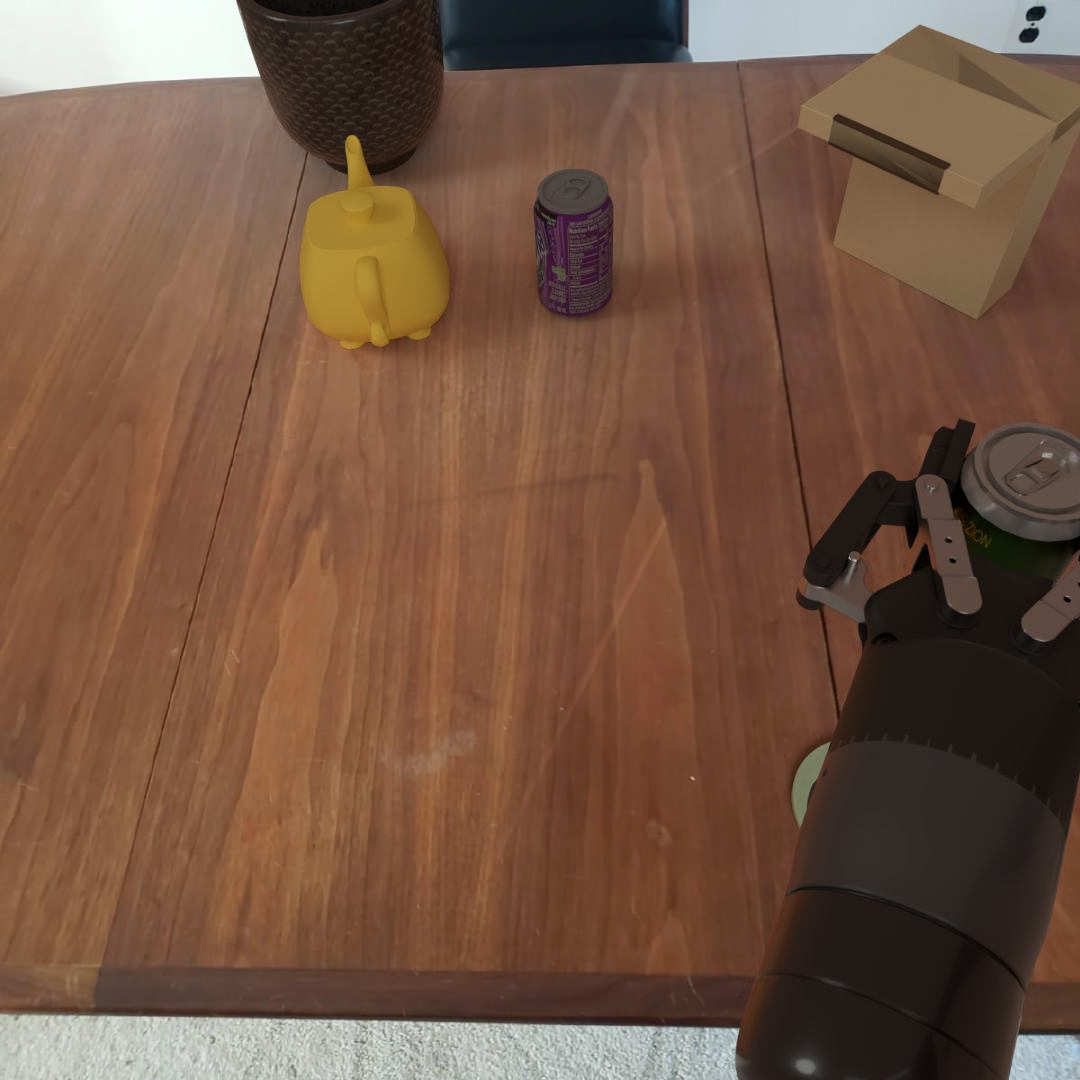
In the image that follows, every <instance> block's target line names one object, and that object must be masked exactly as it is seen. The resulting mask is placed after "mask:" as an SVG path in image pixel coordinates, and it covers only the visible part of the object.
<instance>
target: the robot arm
mask: <svg viewBox="0 0 1080 1080" xmlns="http://www.w3.org/2000/svg"><path fill="white" fill-rule="evenodd" d="M976 427H977V422H973V421H970V420H966V419H963V418H958V419H957V422H956V424H955V426H954V428H950V427H947V426H944V425H942V426H941V427H940V428H938V429H937V430H936V431H935V432H933V433H934V434H933V436H932V439H931V441H930V442H929V446H928V448H927V450H926V453H925V455H924V458H923V460H922V463H921V467H920V468H919V472H918V474H917V476H916V477H914V478H912V479H909V480H898V479H897V478H896V477H895V476H894V475H893V474H892V473H890V472H888V471H885V470H873V471H872V472H870V473H869V474H868V475H866V477H865V479H864V480H863V481H862V482H861V484H860V485H859V487H858V488H857V489H856V491H855V492H853V494H852V496H851V497H850V498H849V500H848V501H847V502H846V504H845V505H844V506H843V508H842V509H841V511H839V513H838V514H837V516H836V517H835V518H834V520H833V521H832V522H831V524H830V525H829V527H828V528H827V529H826V530H825V532H824V533H823V534H822V536H821V537H820V538H819V540H818V541H817V542H816V544H814V546H813V548H812V549H811V551H810V552H809V553H808V555H807V556H806V559H805V562H804V565H803V568H802V572H801V575H800V578H799V582H798V585H797V590H796V592H795V600H796V602H797V605H799V606H800V607H802V608H803V609H805V610H807V611H814V612H815V611H819V610H822V609H823V608H825V606H827V607H828V608H829V609H832V610H833V611H835V612H837V613H839V614H841V615H843V617H846V618H848V619H850V620H852V621H854V622H855V623H857V632H858V636H859V640H860V645H861V656H860V659H859V661H858V664H857V667H856V670H855V672H854V675H853V678H852V680H851V684H850V686H849V690H848V692H847V695H846V697H845V701H844V703H843V706H842V710H841V711H840V715H839V717H838V720H837V723H836V726H835V729H834V731H833V735H832V736H831V740H830V742H831V743H830V745H829V748H828V752H827V754H826V756H825V759H824V762H823V765H822V768H821V770H820V773H819V776H818V778H817V779H816V781H815V782H814V783H813V784H812V787H811V789H810V792H809V796H808V800H807V810H806V812H805V815H804V818H803V821H802V824H801V828H800V829H799V831H798V834H797V839H796V845H795V849H794V854H793V861H792V866H791V870H790V874H789V875H790V876H789V880H788V883H787V886H786V890H785V893H784V898H783V899H782V903H781V905H780V908H779V911H778V914H777V917H776V920H775V923H774V925H773V928H772V931H771V934H770V937H769V940H768V942H767V944H766V949H765V951H764V954H763V956H762V959H761V962H760V965H759V968H758V971H757V974H756V977H755V980H754V982H753V985H752V988H751V991H750V993H749V996H748V1000H747V1003H746V1006H745V1010H744V1013H743V1016H742V1019H741V1023H740V1025H739V1030H738V1034H737V1039H736V1043H735V1044H736V1045H735V1049H734V1050H735V1051H734V1066H735V1072H736V1077H737V1080H1010V1077H1011V1076H1010V1075H1011V1072H1012V1066H1013V1060H1014V1055H1015V1051H1016V1046H1017V1045H1016V1044H1017V1041H1018V1036H1019V1032H1020V1027H1021V1021H1022V1016H1023V1012H1024V1006H1025V998H1026V996H1027V992H1028V989H1029V985H1030V982H1031V981H1030V980H1031V978H1032V974H1033V972H1034V970H1035V967H1036V964H1037V961H1038V959H1039V956H1040V954H1041V952H1042V949H1043V945H1044V944H1045V940H1046V937H1047V935H1048V932H1049V928H1050V925H1051V921H1052V916H1053V912H1054V907H1055V902H1056V898H1057V892H1058V888H1059V883H1060V878H1061V873H1062V868H1063V863H1064V858H1065V853H1066V848H1067V842H1068V837H1069V832H1070V827H1071V822H1072V816H1073V811H1074V807H1075V801H1076V795H1077V792H1078V786H1079V781H1080V553H1079V554H1078V559H1077V563H1076V565H1074V566H1073V568H1072V569H1070V570H1069V571H1068V572H1067V573H1066V574H1065V575H1064V576H1062V577H1061V578H1060V579H1059V581H1058V582H1057V584H1056V585H1055V586H1054V587H1053V588H1052V585H1053V581H1052V580H1049V579H1046V578H1043V577H1040V576H1037V575H1034V574H1031V573H1024V572H1016V571H1010V570H1007V569H1005V568H1003V567H1001V566H999V565H998V564H996V563H994V562H992V561H991V560H989V559H987V558H984V557H981V556H978V555H975V554H972V553H969V552H968V550H967V545H966V541H965V537H964V532H963V528H962V523H961V521H960V520H959V519H955V518H954V513H953V509H952V504H951V500H950V495H951V493H952V491H953V489H954V487H955V485H956V483H957V480H958V477H959V474H960V471H961V468H962V465H963V462H964V459H965V457H966V455H967V454H968V450H969V447H970V444H971V441H972V438H973V436H974V432H975V429H976ZM882 526H893V527H900V529H901V534H902V539H903V545H904V551H905V560H904V577H902V578H899V579H897V580H895V581H893V582H891V583H889V584H887V585H886V586H884V587H882V588H879V589H877V590H876V591H874V592H873V591H872V590H870V589H869V588H868V586H867V585H866V581H865V577H866V575H867V572H868V567H867V564H866V562H865V561H864V560H863V559H862V554H864V551H866V549H867V547H868V546H869V545H870V544H871V542H872V540H873V539H874V538H875V536H876V535H877V533H878V532H879V531H880V529H881V528H882Z"/></svg>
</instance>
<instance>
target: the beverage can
mask: <svg viewBox="0 0 1080 1080" xmlns="http://www.w3.org/2000/svg"><path fill="white" fill-rule="evenodd" d="M532 212H533V226H534V227H533V229H534V240H535V241H534V242H535V257H536V259H535V260H536V261H535V262H536V277H537V292H538V293H537V294H538V299H539V301H540V303H541V304H542V305H543V306H544V308H546V309H547V310H548V311H550V312H551V313H554V314H557V315H558V316H563V317H570V318H571V317H574V318H575V317H576V318H577V317H584V316H590V315H592V314H595V313H597V312H598V311H601V310H602V309H603V308H605V307H606V306H607V305H608V304H609V301H611V298H612V296H613V277H614V276H613V275H614V274H613V272H614V271H613V269H614V268H613V267H614V202H613V200H612V197H611V196H610V194H609V184H608V182H607V180H606V179H605V178H604V177H602V176H601V175H600V174H599V173H596V172H595V171H592V170H588V169H584V168H565V169H561V170H557V171H554V172H552V173H550V174H549V175H547V176H545V177H544V178H543V179H542V180H541V181H540V182H539V184H538V186H537V197H536V199H535V201H534V204H533V211H532Z"/></svg>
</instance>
